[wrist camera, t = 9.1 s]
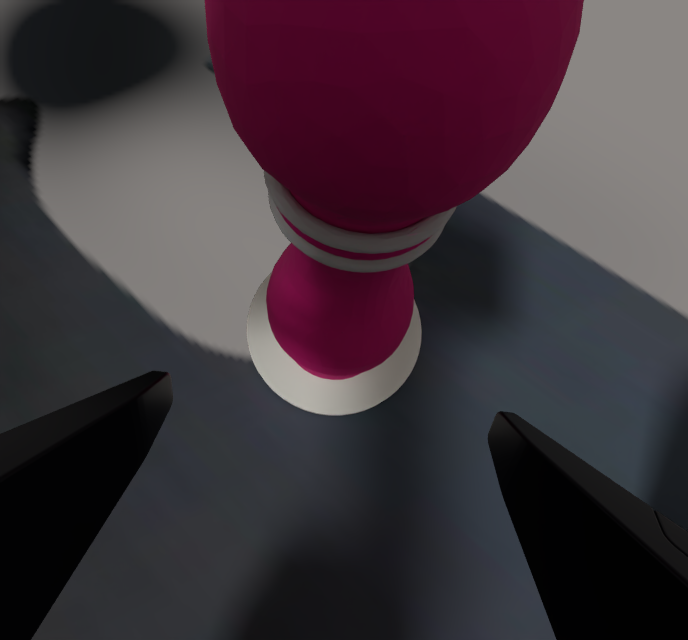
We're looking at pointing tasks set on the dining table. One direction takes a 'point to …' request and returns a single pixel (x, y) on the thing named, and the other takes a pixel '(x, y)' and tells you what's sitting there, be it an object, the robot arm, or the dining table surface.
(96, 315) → the dining table surface
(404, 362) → the saucer
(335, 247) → the pepper mill
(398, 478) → the dining table surface
